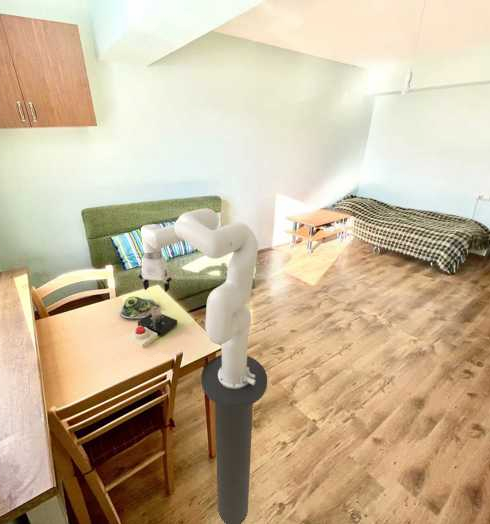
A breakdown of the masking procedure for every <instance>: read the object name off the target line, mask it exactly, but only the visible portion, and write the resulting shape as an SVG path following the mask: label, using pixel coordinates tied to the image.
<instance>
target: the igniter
mask: <svg viewBox="0 0 490 524" xmlns="http://www.w3.org/2000/svg"><path fill="white" fill-rule="evenodd" d="M139 327H140V326H139ZM137 328H138V327H136V328H134V329H133V330H131V331H130V332H129V333H126V334H125V335H124V339H125V340H127V341H128V342H131V343H132V344H133V345H136V346H138V347H139V348H141V349H144V348H146V347H147V346H149V345H150V344H151V343H153V342H154V341H155V340H156V339H159V336H158V333H156V332H153V331H151V330H149V329H148V328H146V327H144V328H145V333H143V334H137V333H136V329H137Z"/></svg>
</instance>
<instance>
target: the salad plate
mask: <svg viewBox="0 0 490 524" xmlns="http://www.w3.org/2000/svg"><path fill="white" fill-rule="evenodd" d="M123 303H124V304H123V306H122V308H121V309H120V311H119V315H120V317H121V318H124V319H126V320H138V319H143V318H144V317H146V316H148V315H149V314H151V312H152V310H156V309H158V308H161V305H160V304H157V303H156V301H155V300H154V299H153V298H141V297H140V296H129V297H128V298H127V299H126V300H125V301H124V302H123Z"/></svg>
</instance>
